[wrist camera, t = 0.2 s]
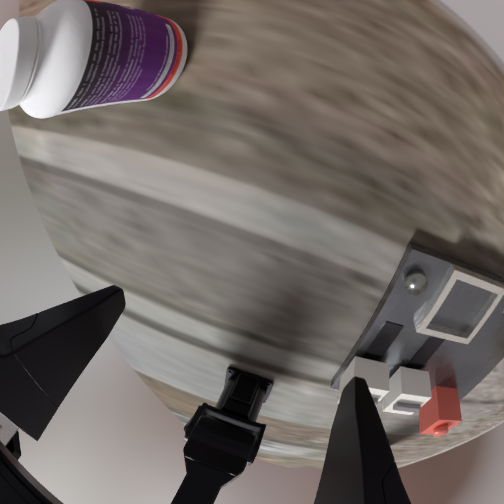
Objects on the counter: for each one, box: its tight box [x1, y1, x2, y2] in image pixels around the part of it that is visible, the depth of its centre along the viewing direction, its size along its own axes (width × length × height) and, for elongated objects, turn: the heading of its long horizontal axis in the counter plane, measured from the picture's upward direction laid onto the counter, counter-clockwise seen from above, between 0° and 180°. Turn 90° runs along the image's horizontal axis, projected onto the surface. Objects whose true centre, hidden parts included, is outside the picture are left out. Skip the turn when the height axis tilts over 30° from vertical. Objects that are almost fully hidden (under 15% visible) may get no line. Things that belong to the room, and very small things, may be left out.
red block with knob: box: [419, 386, 462, 436], centre depth 23 cm, size 4×4×6 cm
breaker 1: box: [337, 356, 389, 406], centre depth 24 cm, size 4×4×4 cm
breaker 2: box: [382, 366, 432, 415], centre depth 23 cm, size 4×4×4 cm
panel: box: [331, 242, 504, 401], centre depth 22 cm, size 20×20×2 cm
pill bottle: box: [0, 0, 187, 118], centre depth 12 cm, size 8×8×14 cm
